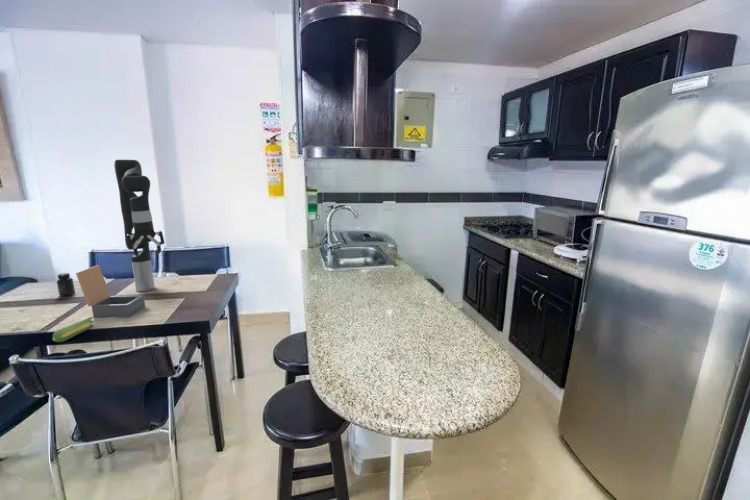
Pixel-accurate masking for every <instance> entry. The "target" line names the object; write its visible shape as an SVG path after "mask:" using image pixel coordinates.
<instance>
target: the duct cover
mask: <svg viewBox="0 0 750 500" xmlns="http://www.w3.org/2000/svg"><path fill="white" fill-rule="evenodd" d="M75 275H76V278H77V280H78V282H79V286H80V288H81V291H82V293H83V296H84V299H85V301H86V303H87V307H92V305H94V304H96V303H98V302H100V301H102V300H104V299H106V298H108V297H110V296H111V294H110V291H109V288H108V285H107V282H106V280H105V277H104V275H103V272H102V269H101V266H100V264H97V265H94V266H92V267H91V266H90V267H89V268H86V269H84V270H80V271H77V272H75Z"/></svg>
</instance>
